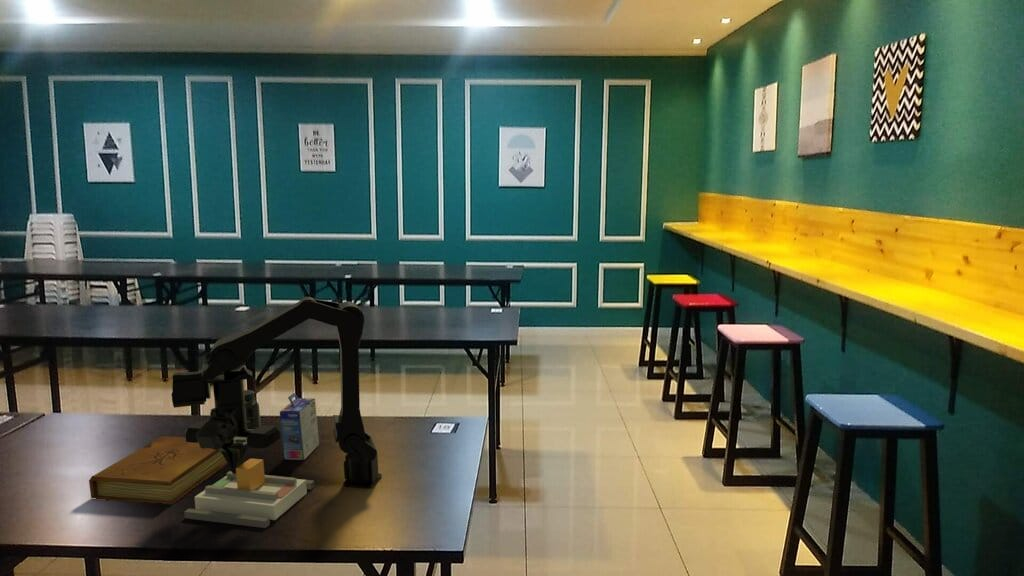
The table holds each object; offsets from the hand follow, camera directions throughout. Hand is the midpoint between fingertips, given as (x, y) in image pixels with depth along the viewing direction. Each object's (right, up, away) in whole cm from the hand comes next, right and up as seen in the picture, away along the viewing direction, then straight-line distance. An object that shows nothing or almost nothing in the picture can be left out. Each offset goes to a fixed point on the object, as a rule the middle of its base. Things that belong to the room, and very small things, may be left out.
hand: (236, 473), depth 146 cm
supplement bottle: (-11, 0, +36) cm, 38 cm away
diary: (-20, -5, +12) cm, 24 cm away
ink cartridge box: (+6, -2, +26) cm, 27 cm away
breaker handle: (+3, -3, 0) cm, 4 cm away
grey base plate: (+3, -6, 0) cm, 7 cm away
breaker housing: (+3, -6, 0) cm, 7 cm away
